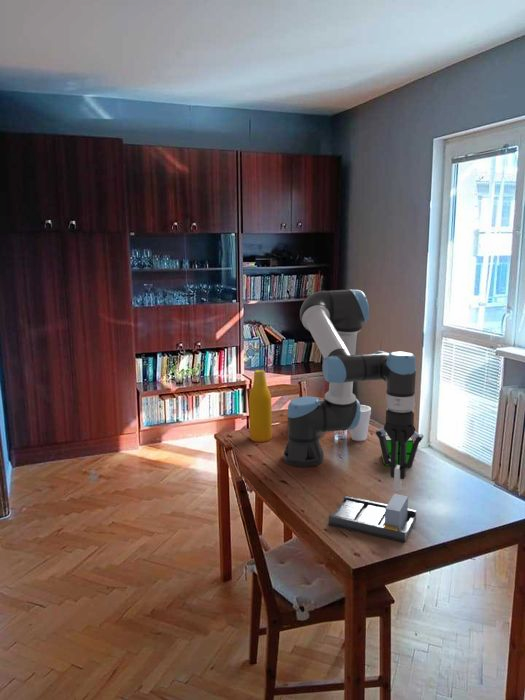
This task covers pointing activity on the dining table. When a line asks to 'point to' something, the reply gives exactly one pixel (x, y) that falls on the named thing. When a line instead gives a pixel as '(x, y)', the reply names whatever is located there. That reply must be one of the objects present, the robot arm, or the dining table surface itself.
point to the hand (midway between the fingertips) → (397, 488)
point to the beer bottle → (260, 409)
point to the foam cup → (362, 424)
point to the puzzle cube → (409, 447)
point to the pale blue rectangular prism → (396, 511)
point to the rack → (369, 519)
